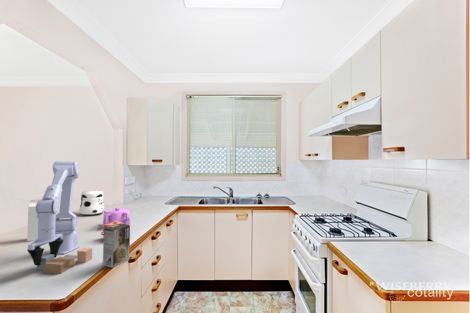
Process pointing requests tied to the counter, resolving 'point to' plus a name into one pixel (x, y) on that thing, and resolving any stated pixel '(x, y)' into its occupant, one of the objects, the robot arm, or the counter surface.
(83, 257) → the terracotta block
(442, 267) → the counter surface
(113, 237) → the coffee box
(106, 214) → the teakettle
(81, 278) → the counter surface
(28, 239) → the milk
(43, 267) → the grey block
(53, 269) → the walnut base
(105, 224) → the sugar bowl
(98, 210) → the milk container
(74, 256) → the tile
